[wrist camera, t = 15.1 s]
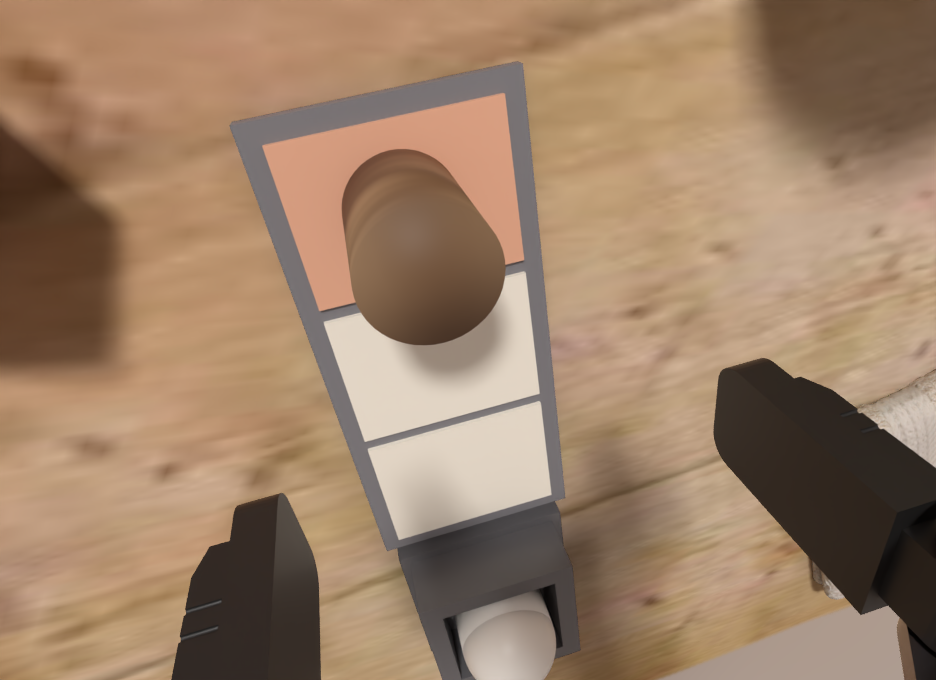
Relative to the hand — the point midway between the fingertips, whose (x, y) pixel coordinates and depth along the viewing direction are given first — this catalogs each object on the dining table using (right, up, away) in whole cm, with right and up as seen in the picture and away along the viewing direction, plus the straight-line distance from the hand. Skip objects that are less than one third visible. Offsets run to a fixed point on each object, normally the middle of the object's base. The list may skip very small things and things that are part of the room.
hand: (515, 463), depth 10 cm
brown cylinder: (-3, +7, +11) cm, 13 cm away
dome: (+1, -12, +23) cm, 26 cm away
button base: (0, -12, +24) cm, 27 cm away
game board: (-2, +2, +15) cm, 16 cm away
